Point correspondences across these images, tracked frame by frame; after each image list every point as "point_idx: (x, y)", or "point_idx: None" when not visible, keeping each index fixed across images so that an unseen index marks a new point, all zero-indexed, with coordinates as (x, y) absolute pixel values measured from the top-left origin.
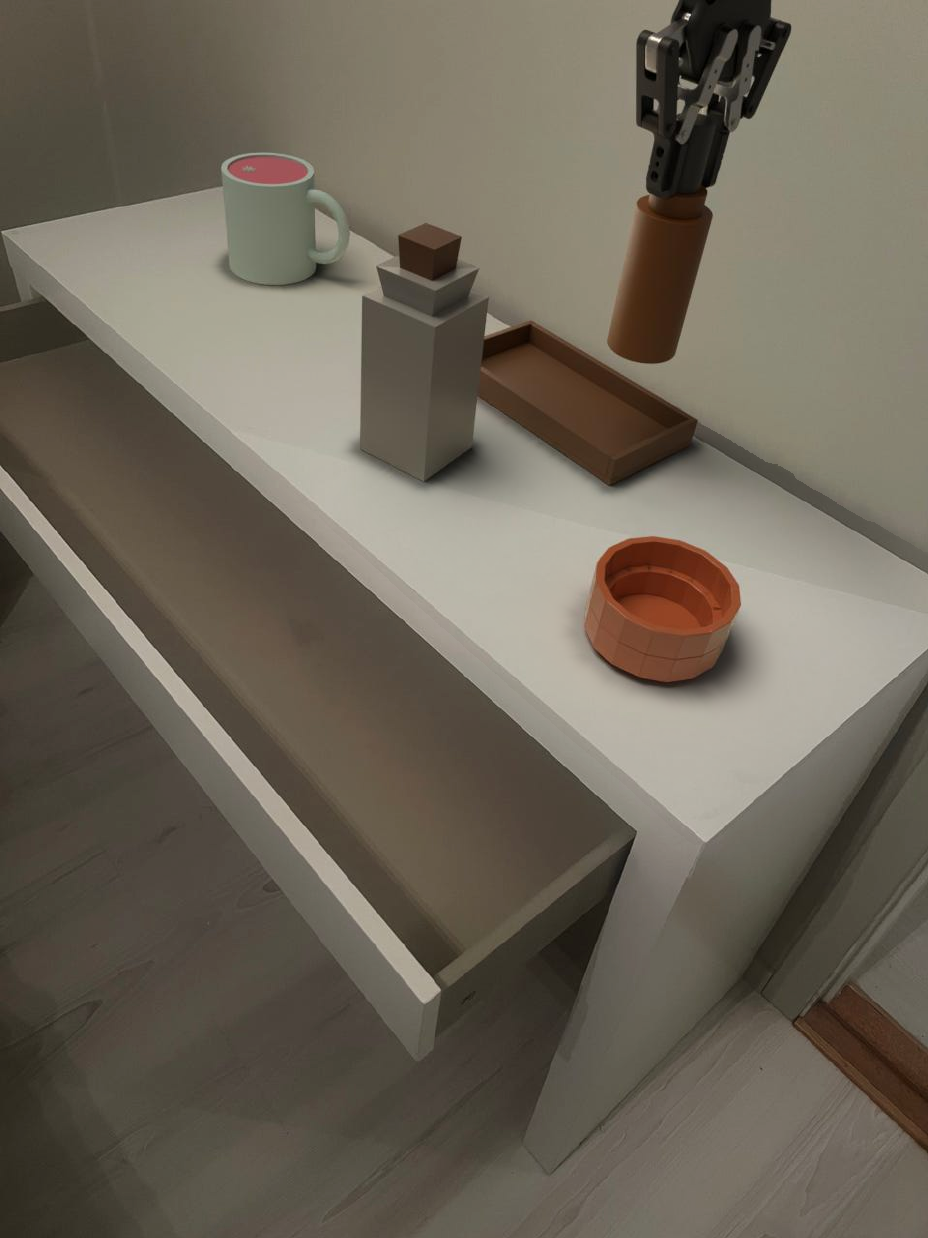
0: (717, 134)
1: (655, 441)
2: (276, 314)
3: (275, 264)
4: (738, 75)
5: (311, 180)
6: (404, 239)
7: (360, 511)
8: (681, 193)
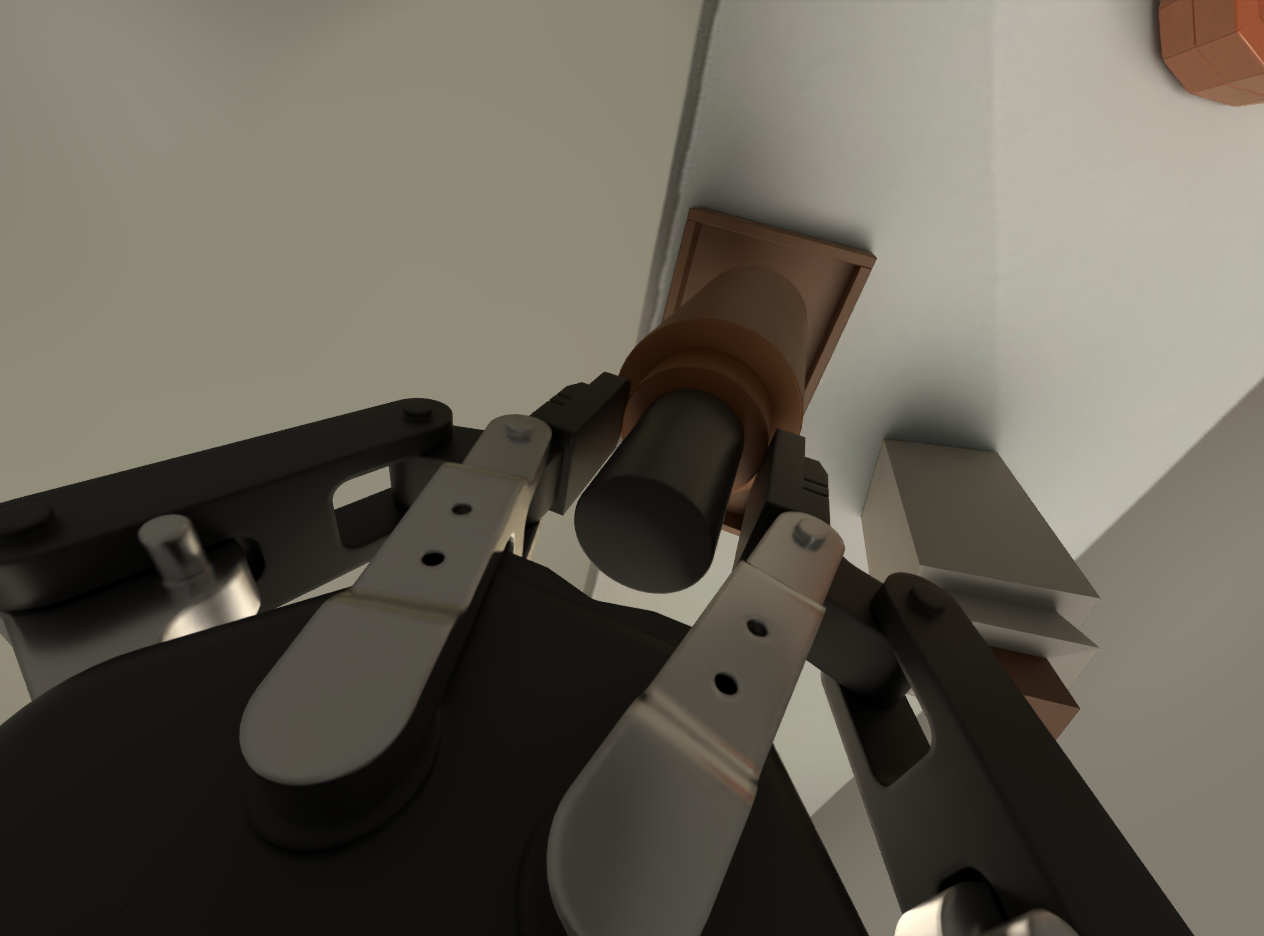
0: (575, 449)
1: (787, 233)
2: None
3: None
4: (497, 552)
5: None
6: None
7: (1106, 484)
8: (739, 419)
